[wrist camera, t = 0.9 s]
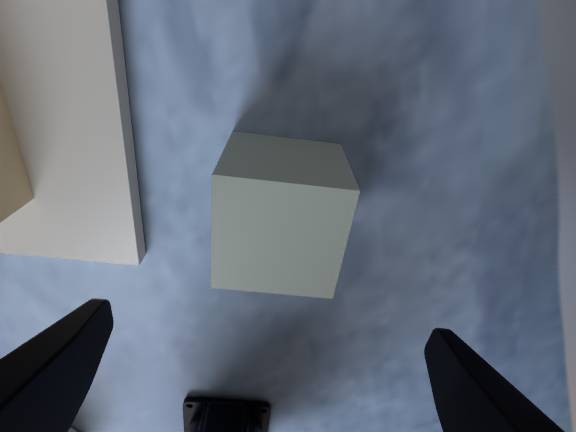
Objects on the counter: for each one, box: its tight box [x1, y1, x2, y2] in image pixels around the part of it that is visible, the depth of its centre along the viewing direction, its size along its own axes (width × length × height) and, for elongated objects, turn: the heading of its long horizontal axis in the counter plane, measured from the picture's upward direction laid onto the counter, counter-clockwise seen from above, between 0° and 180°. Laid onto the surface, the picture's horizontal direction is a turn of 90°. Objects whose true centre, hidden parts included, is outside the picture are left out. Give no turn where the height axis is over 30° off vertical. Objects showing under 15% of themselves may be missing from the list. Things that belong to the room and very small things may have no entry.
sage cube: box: [211, 131, 360, 299], centre depth 15 cm, size 5×5×5 cm
